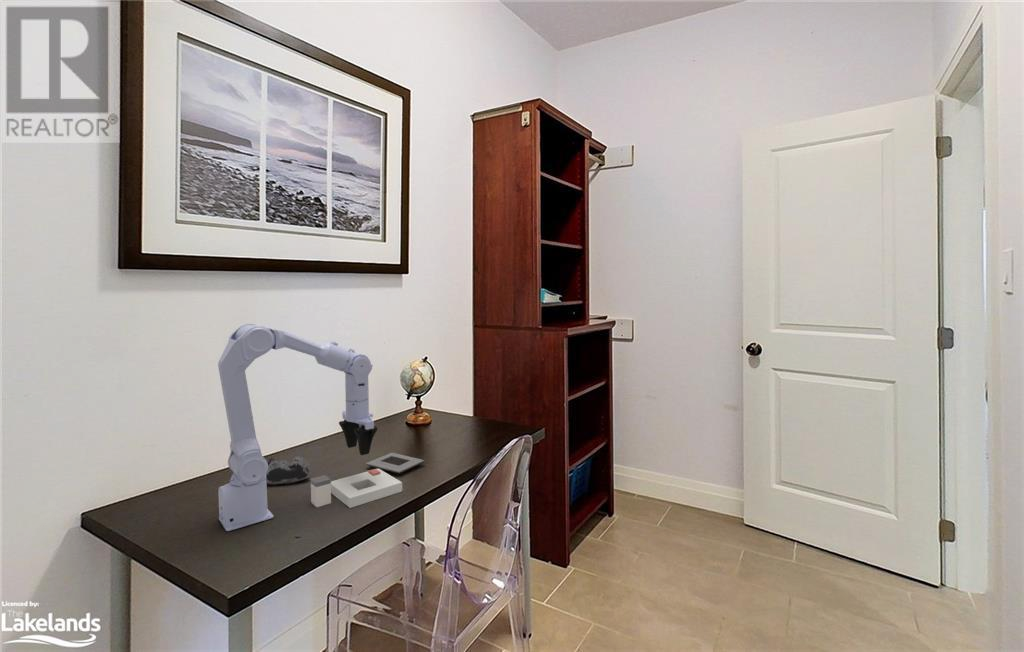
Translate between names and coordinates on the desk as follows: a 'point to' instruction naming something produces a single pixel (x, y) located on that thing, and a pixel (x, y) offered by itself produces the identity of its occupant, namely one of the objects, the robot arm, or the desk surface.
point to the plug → (320, 490)
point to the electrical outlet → (395, 463)
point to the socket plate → (365, 487)
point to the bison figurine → (287, 471)
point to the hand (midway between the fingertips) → (358, 450)
